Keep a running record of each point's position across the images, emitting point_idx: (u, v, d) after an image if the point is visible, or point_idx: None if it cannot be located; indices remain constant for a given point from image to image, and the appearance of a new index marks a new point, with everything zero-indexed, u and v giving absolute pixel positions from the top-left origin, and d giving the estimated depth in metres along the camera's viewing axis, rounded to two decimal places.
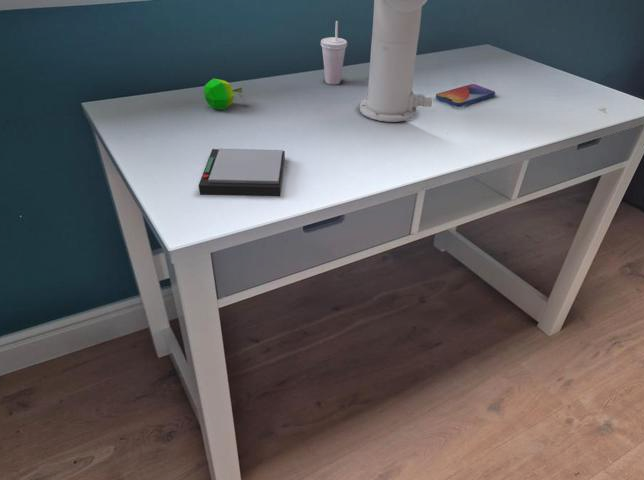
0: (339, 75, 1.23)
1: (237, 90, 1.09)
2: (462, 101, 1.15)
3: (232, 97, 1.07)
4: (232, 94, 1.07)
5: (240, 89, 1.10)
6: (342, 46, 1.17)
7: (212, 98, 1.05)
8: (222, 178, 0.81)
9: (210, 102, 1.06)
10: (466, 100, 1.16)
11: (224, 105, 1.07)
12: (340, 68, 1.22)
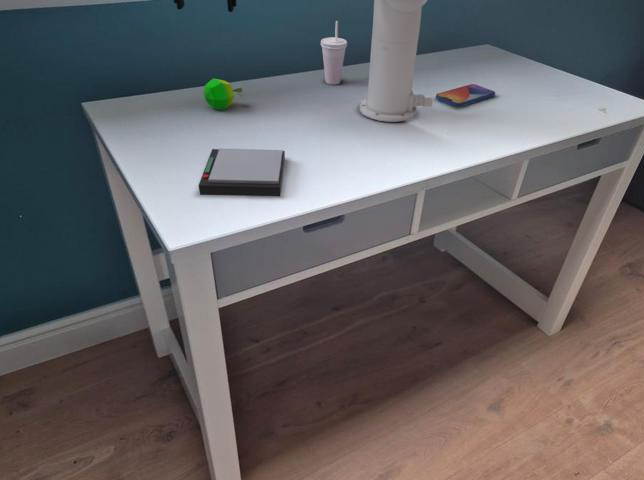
0: (339, 75, 1.23)
1: (237, 90, 1.09)
2: (462, 101, 1.15)
3: (232, 97, 1.07)
4: (232, 94, 1.07)
5: (240, 89, 1.10)
6: (342, 46, 1.17)
7: (212, 98, 1.05)
8: (222, 178, 0.81)
9: (210, 102, 1.06)
10: (466, 100, 1.16)
11: (224, 105, 1.07)
12: (340, 68, 1.22)
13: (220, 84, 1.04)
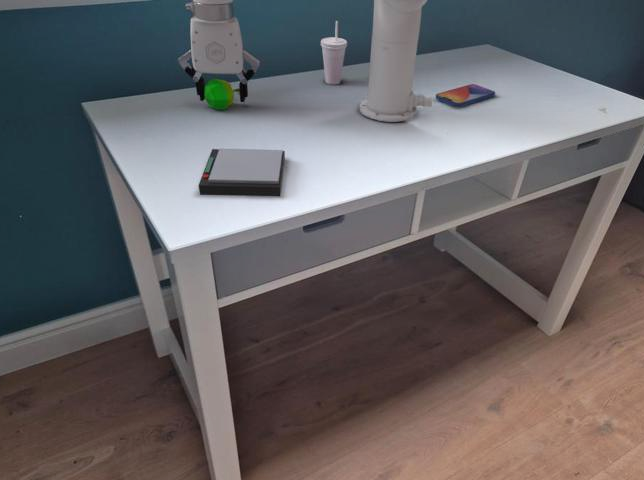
0: (339, 75, 1.23)
1: (237, 90, 1.09)
2: (462, 101, 1.15)
3: (232, 97, 1.07)
4: (232, 94, 1.07)
5: None
6: (342, 46, 1.17)
7: (212, 98, 1.05)
8: (222, 178, 0.81)
9: (210, 102, 1.06)
10: (466, 100, 1.16)
11: (224, 106, 1.07)
12: (340, 68, 1.22)
13: (220, 84, 1.04)
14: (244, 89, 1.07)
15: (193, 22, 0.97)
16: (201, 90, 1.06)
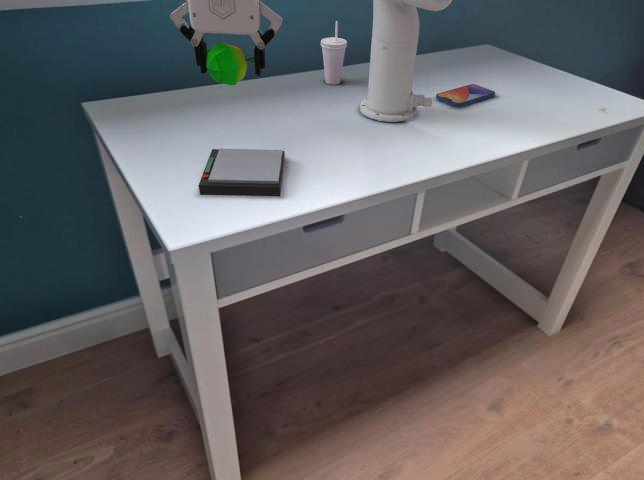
0: (339, 75, 1.23)
1: (251, 59, 0.81)
2: (462, 101, 1.15)
3: (244, 68, 0.79)
4: (244, 64, 0.78)
5: None
6: (342, 46, 1.17)
7: (217, 68, 0.76)
8: (222, 178, 0.81)
9: (214, 75, 0.77)
10: (466, 100, 1.16)
11: (233, 80, 0.79)
12: (340, 68, 1.22)
13: (228, 49, 0.76)
14: (261, 57, 0.78)
15: None
16: (202, 58, 0.77)
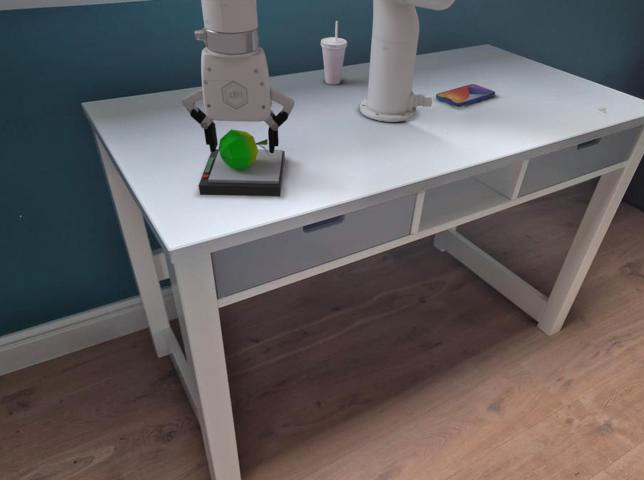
0: (339, 75, 1.23)
1: (261, 143, 0.85)
2: (462, 101, 1.15)
3: (256, 153, 0.82)
4: (256, 150, 0.82)
5: (265, 142, 0.85)
6: (342, 46, 1.17)
7: (230, 156, 0.80)
8: (222, 178, 0.81)
9: (227, 161, 0.81)
10: (466, 100, 1.16)
11: (245, 164, 0.82)
12: (340, 68, 1.22)
13: (241, 138, 0.80)
14: (274, 137, 0.81)
15: (205, 56, 0.71)
16: (211, 139, 0.80)
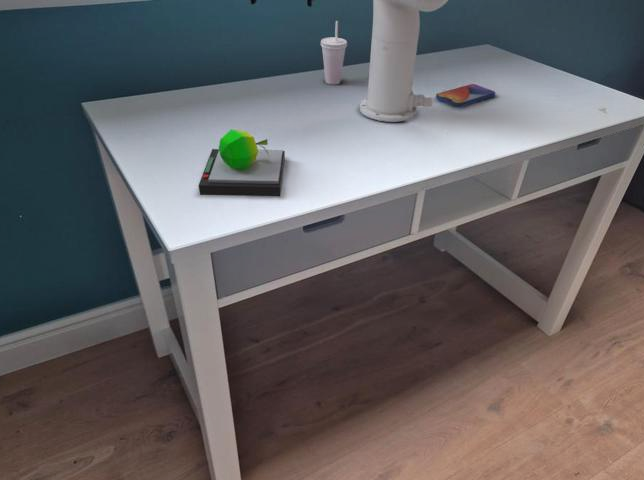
0: (339, 75, 1.23)
1: (261, 143, 0.85)
2: (462, 101, 1.15)
3: (256, 153, 0.82)
4: (256, 150, 0.82)
5: (266, 142, 0.85)
6: (342, 46, 1.17)
7: (230, 156, 0.80)
8: (222, 178, 0.81)
9: (227, 161, 0.81)
10: (466, 100, 1.16)
11: (245, 164, 0.82)
12: (340, 68, 1.22)
13: (241, 138, 0.80)
14: None
15: None
16: None
